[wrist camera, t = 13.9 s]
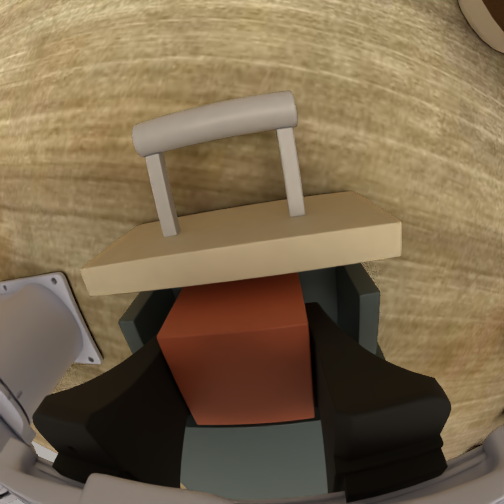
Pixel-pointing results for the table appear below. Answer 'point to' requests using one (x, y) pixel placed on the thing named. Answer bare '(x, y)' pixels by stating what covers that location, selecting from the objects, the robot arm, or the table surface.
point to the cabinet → (256, 458)
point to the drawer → (245, 231)
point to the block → (241, 351)
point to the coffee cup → (486, 20)
